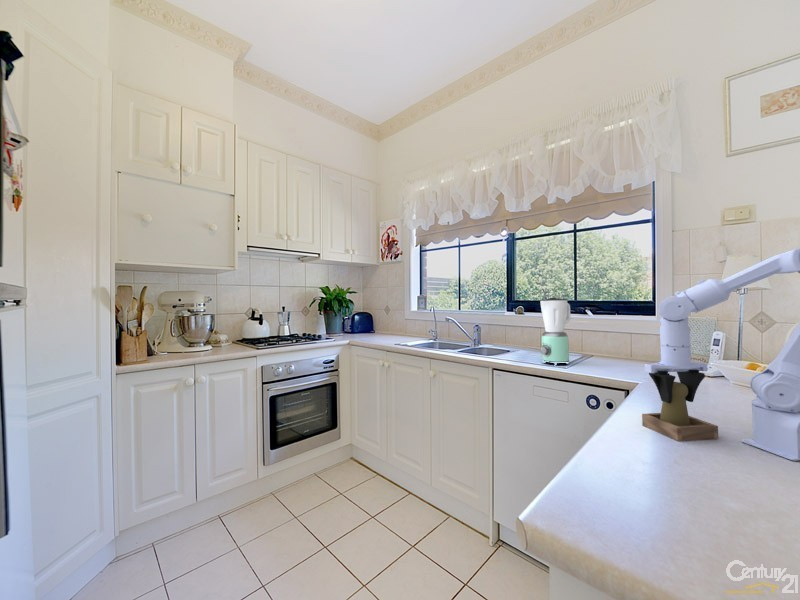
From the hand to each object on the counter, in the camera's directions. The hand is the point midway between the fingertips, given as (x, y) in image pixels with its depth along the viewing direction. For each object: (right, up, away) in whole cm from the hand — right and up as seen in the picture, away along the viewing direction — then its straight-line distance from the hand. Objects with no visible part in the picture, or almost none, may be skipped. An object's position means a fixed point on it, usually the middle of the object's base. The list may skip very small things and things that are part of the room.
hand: (677, 401), depth 81 cm
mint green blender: (+15, -9, +94) cm, 96 cm away
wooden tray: (0, -7, 0) cm, 7 cm away
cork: (0, -7, +1) cm, 7 cm away
